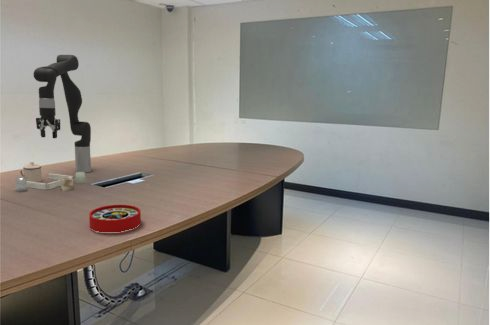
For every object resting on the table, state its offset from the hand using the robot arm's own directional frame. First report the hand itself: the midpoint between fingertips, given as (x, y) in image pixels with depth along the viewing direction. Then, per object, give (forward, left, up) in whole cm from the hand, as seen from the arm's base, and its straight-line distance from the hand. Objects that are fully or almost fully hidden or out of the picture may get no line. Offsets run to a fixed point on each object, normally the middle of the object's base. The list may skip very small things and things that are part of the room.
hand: (49, 137), depth 195 cm
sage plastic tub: (-14, -8, -28) cm, 32 cm away
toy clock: (-32, +67, -28) cm, 80 cm away
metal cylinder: (+14, +4, -28) cm, 31 cm away
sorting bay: (+3, -9, -28) cm, 29 cm away
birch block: (-8, +6, -28) cm, 30 cm away
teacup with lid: (+13, -16, -28) cm, 35 cm away
